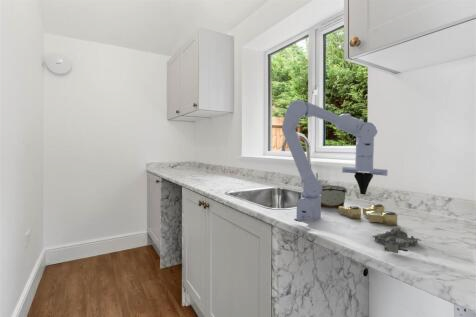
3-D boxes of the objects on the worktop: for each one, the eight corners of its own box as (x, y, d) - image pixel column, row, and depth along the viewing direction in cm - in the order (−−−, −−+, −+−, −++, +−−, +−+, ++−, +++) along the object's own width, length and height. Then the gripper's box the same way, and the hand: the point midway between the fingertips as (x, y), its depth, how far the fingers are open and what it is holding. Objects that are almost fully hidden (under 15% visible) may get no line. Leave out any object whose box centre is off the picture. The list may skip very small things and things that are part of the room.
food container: (344, 208, 110) (345, 185, 110) (346, 212, 104) (347, 188, 104) (315, 206, 114) (315, 184, 113) (315, 209, 108) (316, 186, 107)
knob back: (377, 212, 99) (377, 203, 98) (387, 215, 94) (387, 205, 94) (359, 214, 96) (360, 204, 96) (369, 217, 92) (369, 207, 92)
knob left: (363, 218, 91) (363, 207, 91) (355, 220, 89) (355, 209, 89) (343, 212, 99) (343, 203, 98) (336, 214, 96) (336, 204, 96)
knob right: (395, 222, 86) (396, 211, 86) (398, 226, 82) (398, 214, 82) (368, 219, 89) (368, 209, 89) (369, 223, 85) (369, 212, 85)
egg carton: (400, 240, 74) (400, 227, 74) (424, 251, 67) (425, 236, 66) (369, 243, 71) (369, 229, 71) (390, 255, 64) (391, 239, 64)
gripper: (390, 156, 88) (388, 195, 89) (347, 155, 98) (346, 190, 99) (385, 157, 83) (383, 198, 84) (340, 155, 93) (339, 192, 93)
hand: (363, 193), depth 91 cm, fingers closed
